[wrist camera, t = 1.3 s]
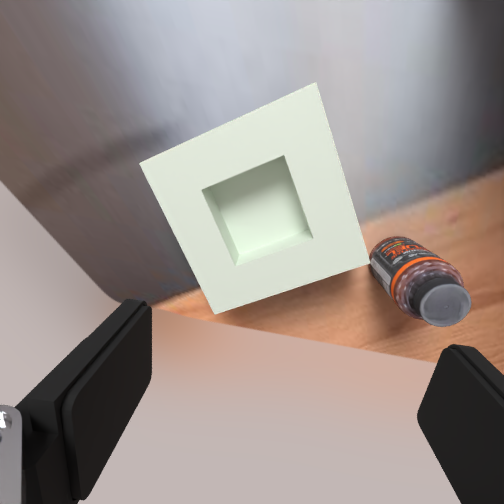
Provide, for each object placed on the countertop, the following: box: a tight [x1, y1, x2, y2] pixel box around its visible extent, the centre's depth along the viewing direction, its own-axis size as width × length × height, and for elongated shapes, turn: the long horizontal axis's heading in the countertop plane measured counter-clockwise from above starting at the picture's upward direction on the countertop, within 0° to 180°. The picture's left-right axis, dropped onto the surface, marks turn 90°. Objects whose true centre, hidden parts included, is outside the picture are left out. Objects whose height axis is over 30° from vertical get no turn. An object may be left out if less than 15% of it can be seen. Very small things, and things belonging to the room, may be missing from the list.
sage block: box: [139, 82, 370, 314], centre depth 29 cm, size 16×16×8 cm
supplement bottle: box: [369, 236, 471, 327], centre depth 29 cm, size 6×6×11 cm
